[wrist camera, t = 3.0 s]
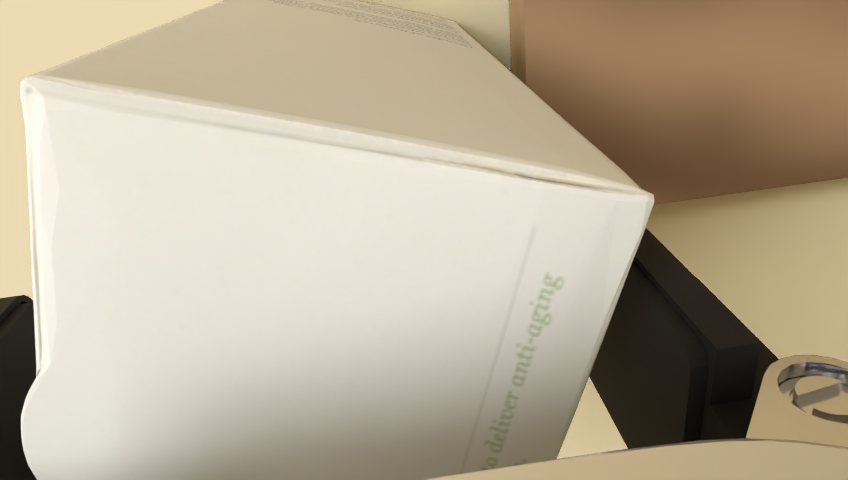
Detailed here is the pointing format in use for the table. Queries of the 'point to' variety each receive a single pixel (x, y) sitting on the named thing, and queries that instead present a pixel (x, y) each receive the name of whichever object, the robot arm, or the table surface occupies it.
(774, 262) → the table surface
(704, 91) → the walnut board
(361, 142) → the skincare box
